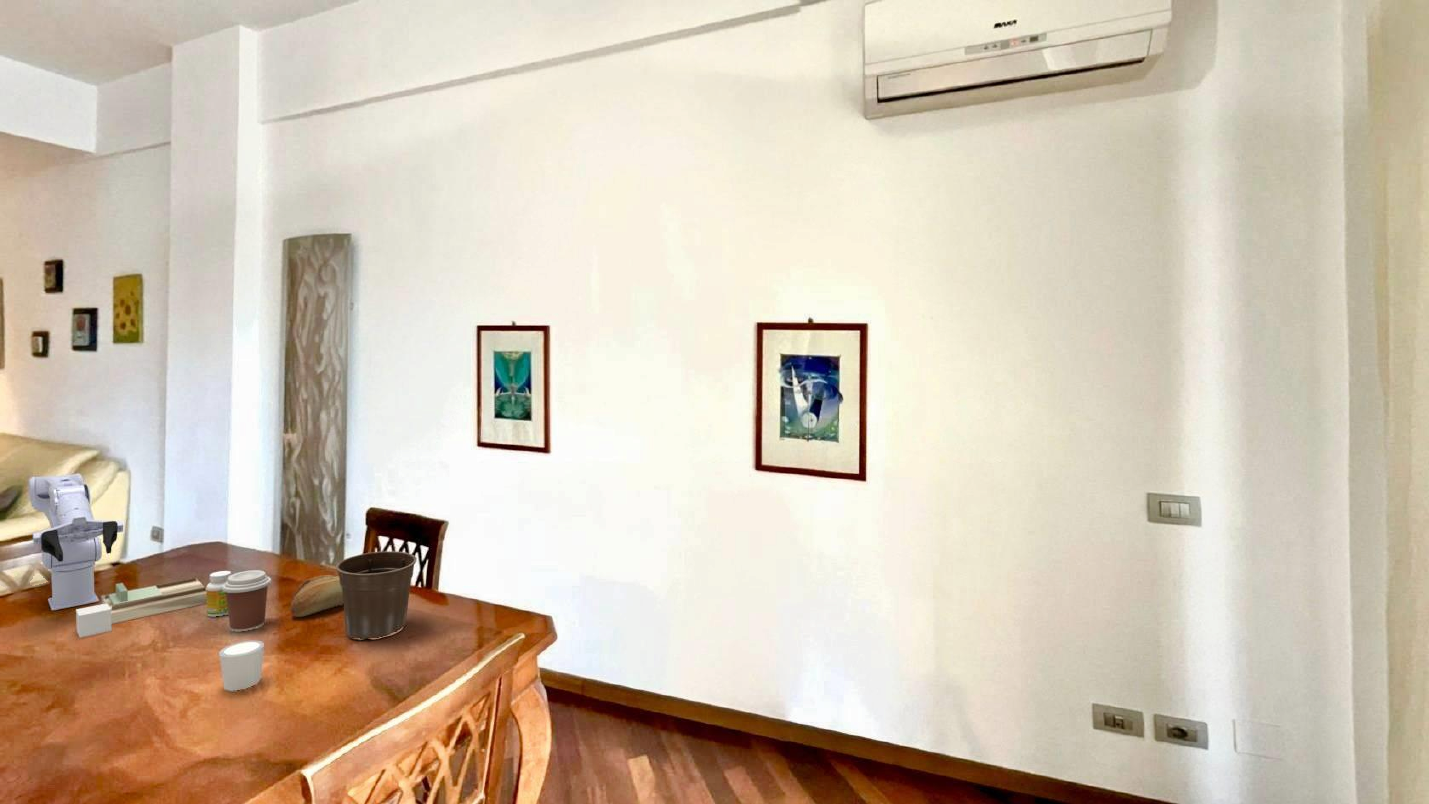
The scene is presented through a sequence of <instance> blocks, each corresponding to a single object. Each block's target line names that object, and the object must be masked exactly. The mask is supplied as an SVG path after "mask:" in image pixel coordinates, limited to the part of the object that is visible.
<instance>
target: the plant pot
mask: <svg viewBox="0 0 1429 804" xmlns="http://www.w3.org/2000/svg"><path fill="white" fill-rule="evenodd" d="M416 562H417V556H415V555H414V554H412V553H409V552H405V551H396V550H394V551H393V550H390V551H373V552H367V553H361V554H357V555H353V556H350V557H347V558H345V559H343V560H341V561H339V562H338V563H337V564H336V566H335V570H336V571H337V572H338V577H339V579H340V585H341V586H342V593H343V603H344V604H343V610H344V624H345V633H346V634H345V635H346V636H347V635H348V636H349V637H351V638H360V639H364V640H366V638H379V637H383V636H387V635H389V634H391V633H393V632H397V631H398V630H400V629H401V628H402V627H404V626H405V624H406V625H407V615H408V607H409V599H410V592H411V591H410V590H411V581H412V578H413V575H414V569H415V564H416ZM405 627H406V626H405ZM405 627H404V628H405ZM348 636H347V637H348ZM349 637H348V638H349ZM351 638H350V639H351Z"/></svg>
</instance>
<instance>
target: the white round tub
mask: <svg viewBox="0 0 1429 804" xmlns="http://www.w3.org/2000/svg"><path fill="white" fill-rule="evenodd" d="M264 648H265V644H264V642H263V641H261V640H245V641H240V642H235V643H233V644H229V645H227V646H225V647H224V648H222V649H221V650H220V651H219V653H218V654H219V655H218V656H219V661H220V669H221V674H222V675H221V676H222V683H223V690H225V689H226V690H225V691H227V690H228V691H227V692H238V691H237V690H240V689H244V690H247V689H246V688H248V687H250V688H252V687H251V686H253V685H254V684H256V685H258V684H259V683H260V682H259V680H260V679H262V670H263V659H264V650H265V649H264ZM258 682H259V683H258ZM257 683H258V684H257ZM253 687H254V686H253ZM248 689H249V688H248ZM234 690H235V691H234ZM240 691H241V690H240Z"/></svg>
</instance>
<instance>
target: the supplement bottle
mask: <svg viewBox="0 0 1429 804" xmlns="http://www.w3.org/2000/svg"><path fill="white" fill-rule="evenodd" d="M231 575H232V571H229V570H220V571H216V572H215V571H214V572H212V573H210V574H209V581H210V582H209V583H207V585H206V596H207V597H206V598H207V603H206V616H208V617H211V618H215V617H216V616H219V617H224V616H223V615H225V616H227V615H228V608H227V600H226V592H223V591H222V585H223V584H224V583H226V582H227V578H228V577H229V576H231ZM216 618H217V617H216Z"/></svg>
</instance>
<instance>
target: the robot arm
mask: <svg viewBox="0 0 1429 804" xmlns="http://www.w3.org/2000/svg"><path fill="white" fill-rule="evenodd" d="M27 484H28V485H27V487H28V497H29V502H30V505H31V507H32V508H33V510H34V511H39V512H42V513H44V515H45V517H46V519H47V520H48V523H49V526H50V528H48V529H46V530H42V531H38V532H33V533H32V542H33V546H40V545H41V561H42V566H43V567H42V568H44V569H46V570H50V572H51V591H52V592H51V594H52V597H49V598H48V599H47V601H48V604H49V607H50V609H51V611H57V610H62V609H68V608H71V607H73V608H74V607H79V606H82V605H88V604H93V603H97V602H99V601H100V600H99V598H98V596H97V593H96V592H95V575H94V574H95V573H94V572H95V571H94V569H95V567H94V566H95V565H96V562H99V561H100V560H101V559H102V555H103V554H102V553H103V550H102V549H103V547H102V543H103V545H104V547H105V553H106V554H111V553H112V546H113V545H114V543H115V542H116V541H117V540H118V533H123V532H124V523H123V520H102V519H101V520H100V519H95V518H94V515H93V511H92V508H91V505H90V503H91V492H90V488H89V487H90V486H89V485H88V484H87V483H84V480H83V475H81V474H80V473H78V472H77V473H73V474H72V473H71V474H62V475H60V474H59V475H49V476H37V477H36V476H31V477H30V478H29V479H28V481H27ZM100 536H102V542H101V538H100Z"/></svg>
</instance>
